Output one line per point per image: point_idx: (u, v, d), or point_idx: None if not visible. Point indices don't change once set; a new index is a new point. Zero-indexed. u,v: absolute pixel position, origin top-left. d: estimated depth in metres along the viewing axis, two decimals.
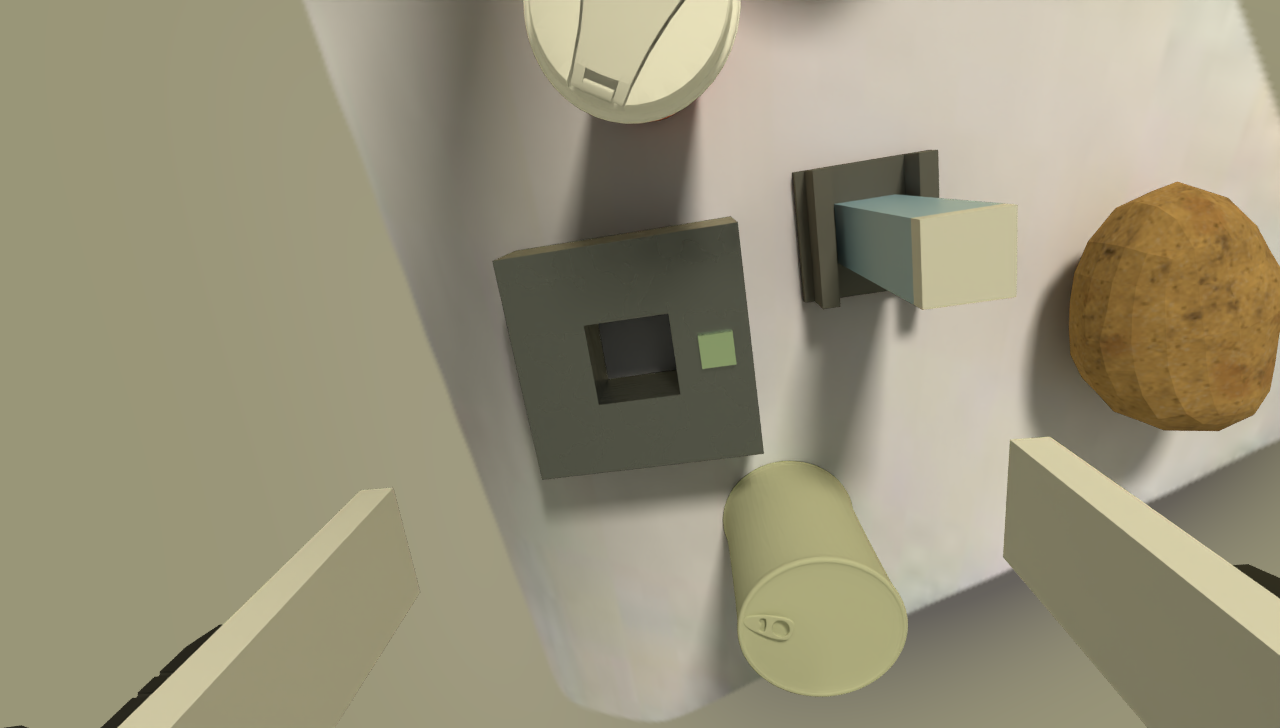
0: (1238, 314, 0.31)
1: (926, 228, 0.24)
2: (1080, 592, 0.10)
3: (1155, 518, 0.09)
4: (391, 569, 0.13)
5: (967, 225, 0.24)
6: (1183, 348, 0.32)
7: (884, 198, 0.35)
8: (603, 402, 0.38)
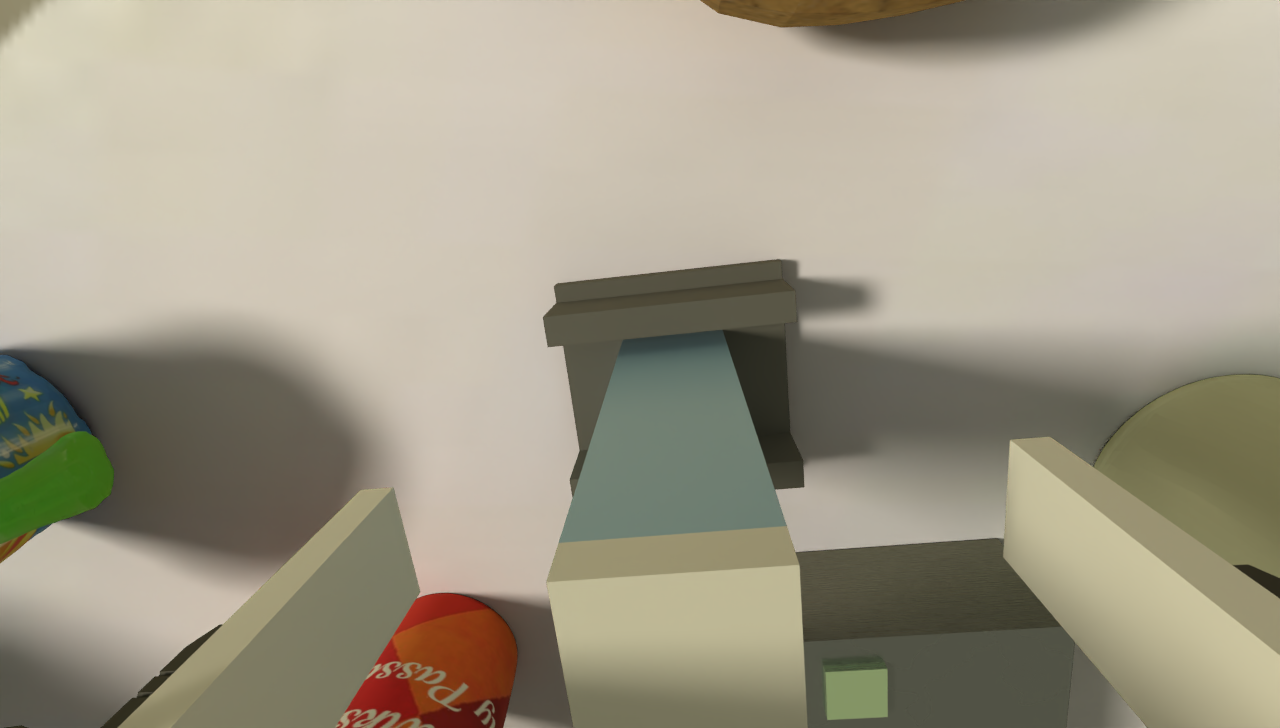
0: None
1: None
2: (1079, 592, 0.10)
3: (1155, 518, 0.09)
4: (391, 569, 0.13)
5: (597, 683, 0.09)
6: None
7: None
8: None
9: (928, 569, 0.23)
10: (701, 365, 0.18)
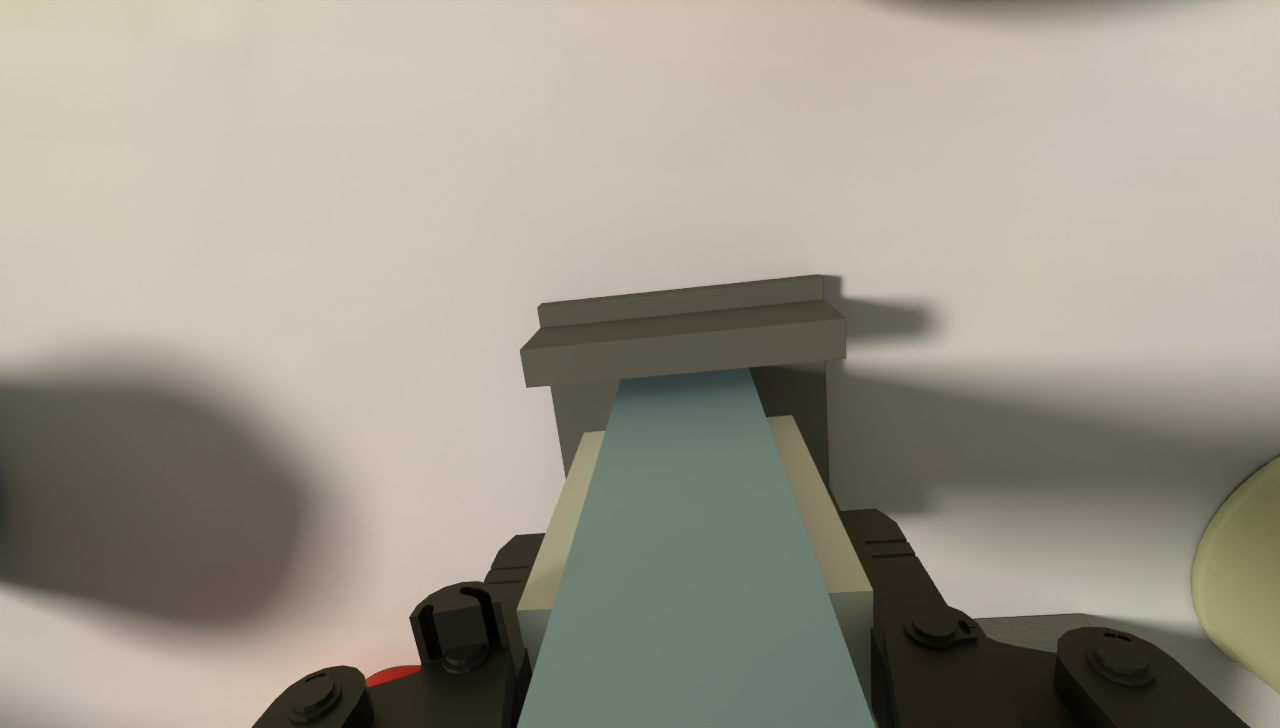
0: None
1: None
2: None
3: (811, 473, 0.12)
4: None
5: None
6: None
7: None
8: None
9: None
10: (723, 418, 0.14)
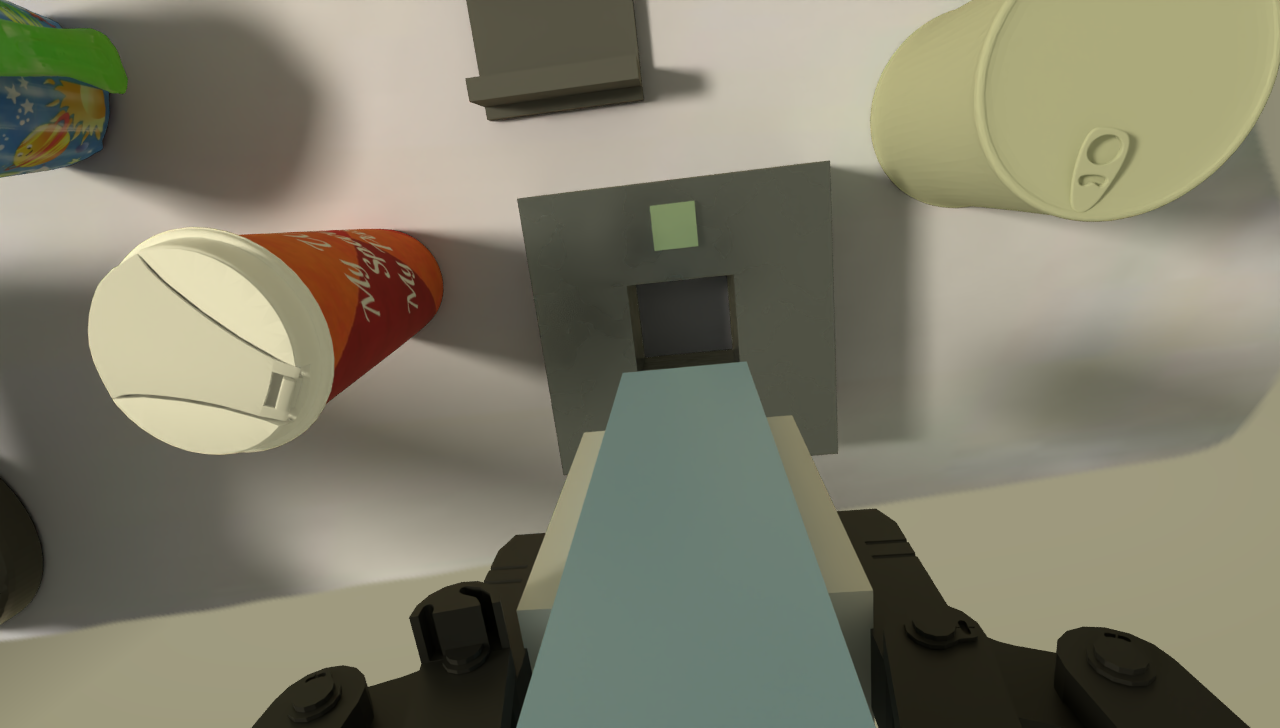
0: None
1: None
2: None
3: (810, 473, 0.12)
4: None
5: None
6: None
7: None
8: None
9: None
10: (723, 418, 0.14)
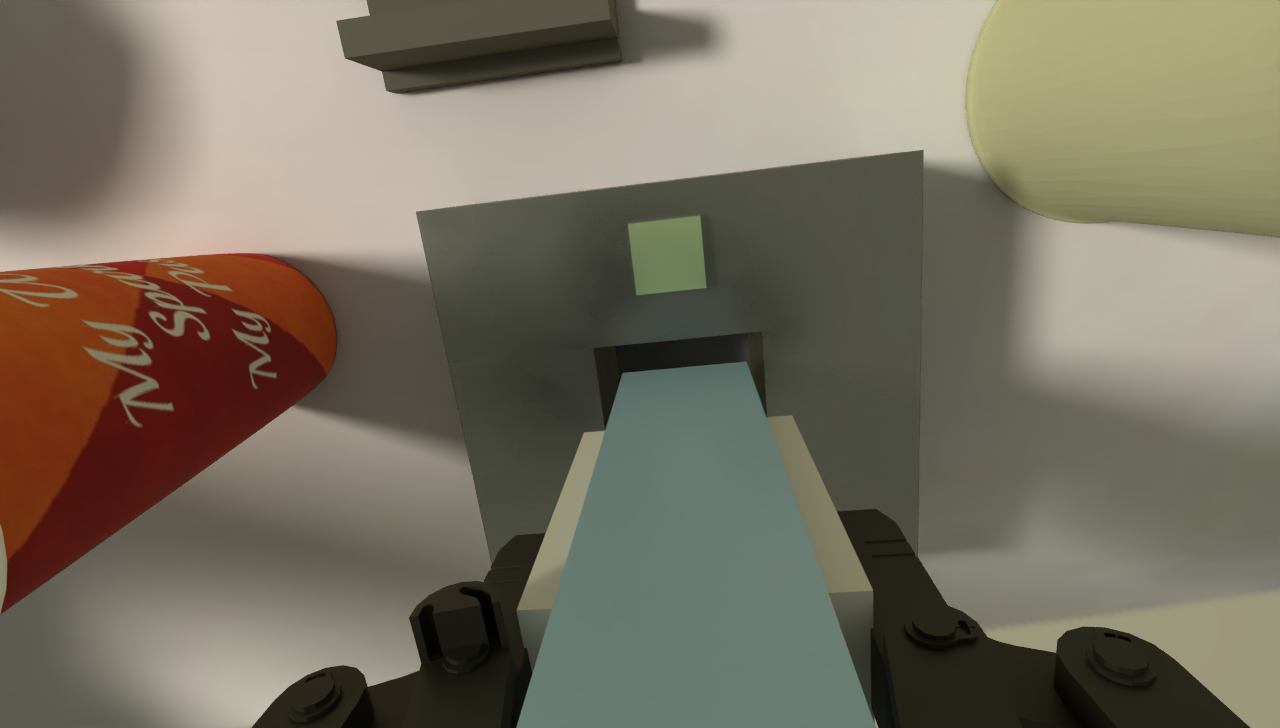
0: None
1: None
2: None
3: (811, 473, 0.12)
4: None
5: None
6: None
7: None
8: None
9: None
10: (723, 417, 0.14)
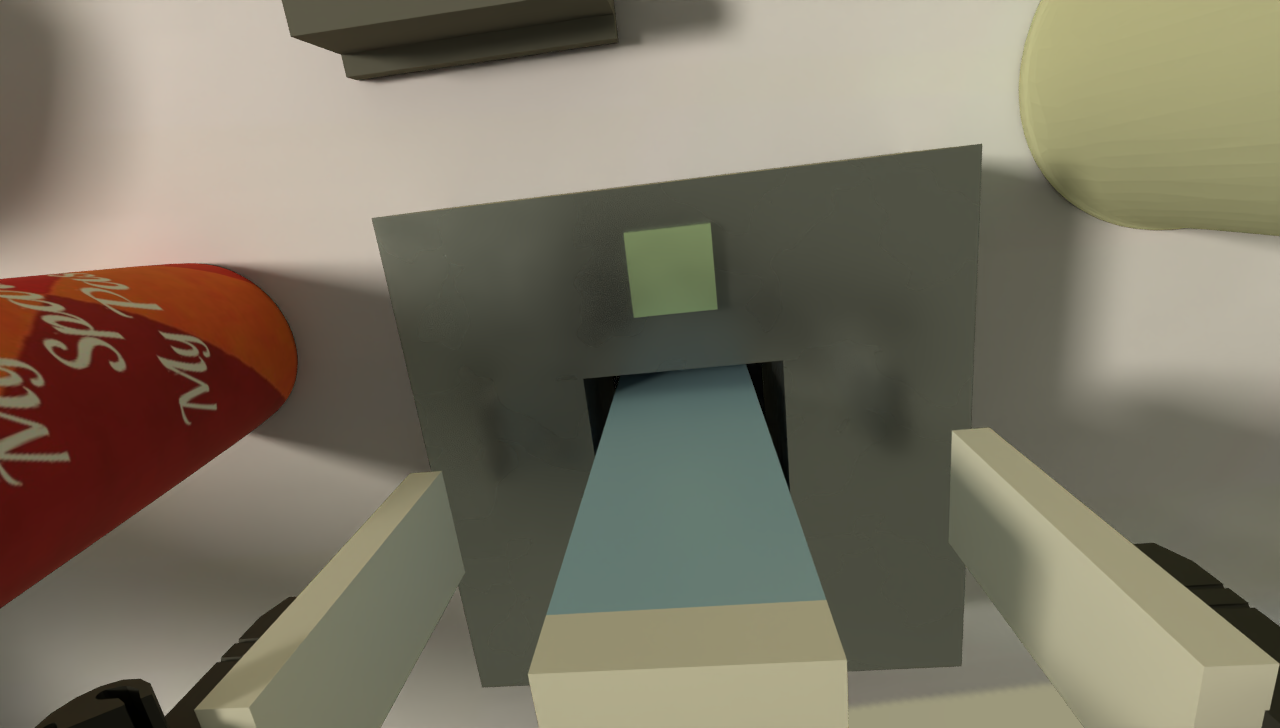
0: None
1: None
2: (1007, 571, 0.11)
3: (1069, 500, 0.10)
4: (441, 549, 0.14)
5: None
6: None
7: None
8: None
9: None
10: (715, 380, 0.16)
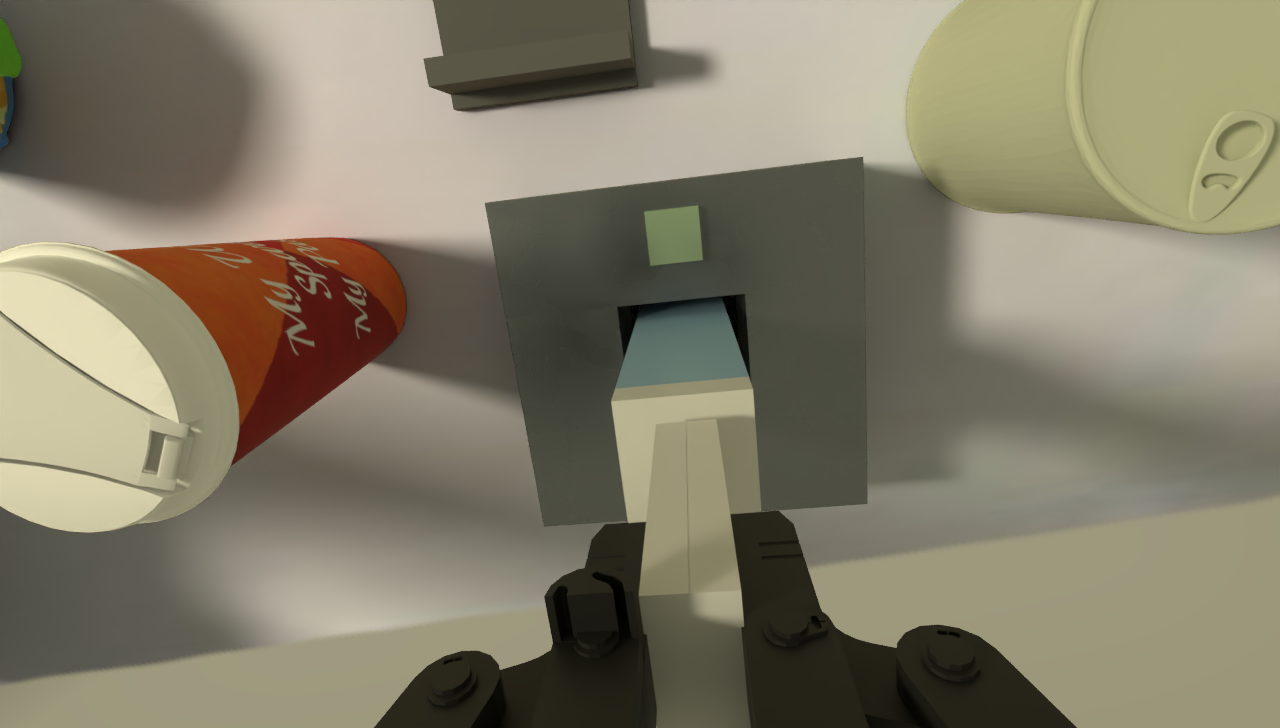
0: None
1: (640, 516, 0.17)
2: None
3: (717, 476, 0.12)
4: None
5: (638, 465, 0.16)
6: None
7: None
8: None
9: None
10: (702, 310, 0.25)
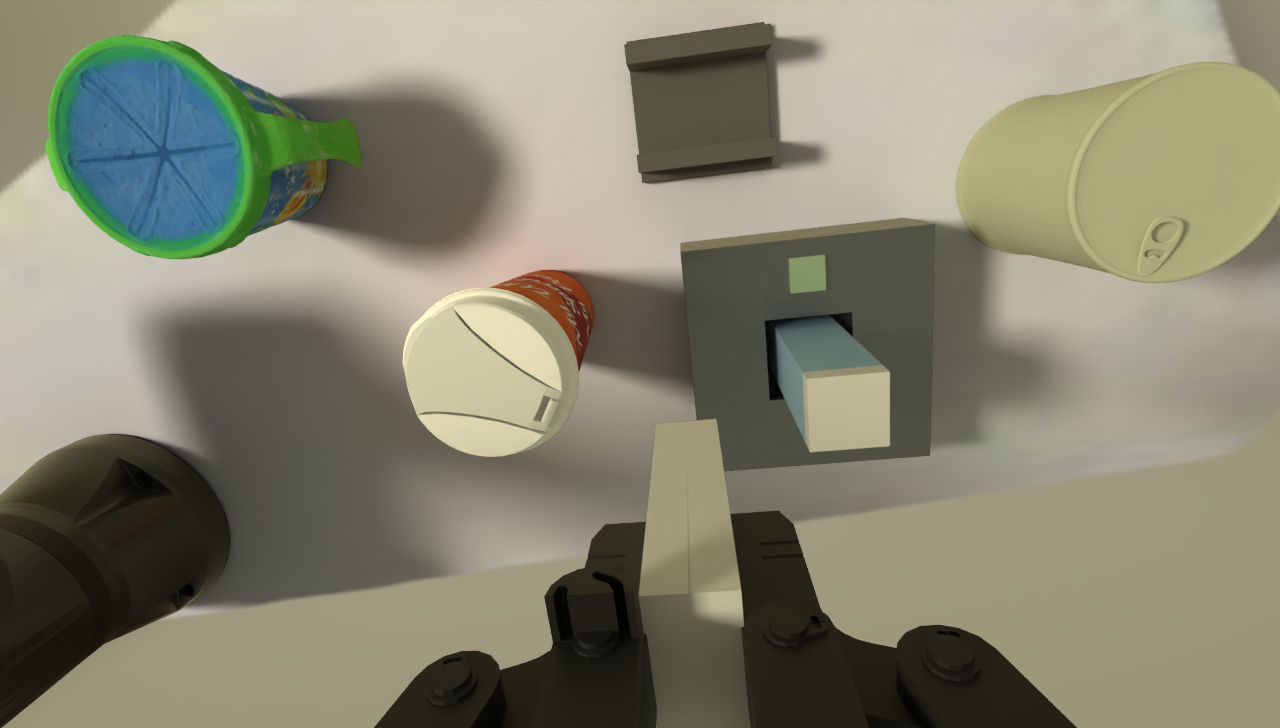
0: None
1: (817, 447, 0.28)
2: None
3: (716, 476, 0.12)
4: None
5: (819, 416, 0.28)
6: None
7: (770, 336, 0.39)
8: None
9: (856, 225, 0.37)
10: (820, 322, 0.37)
